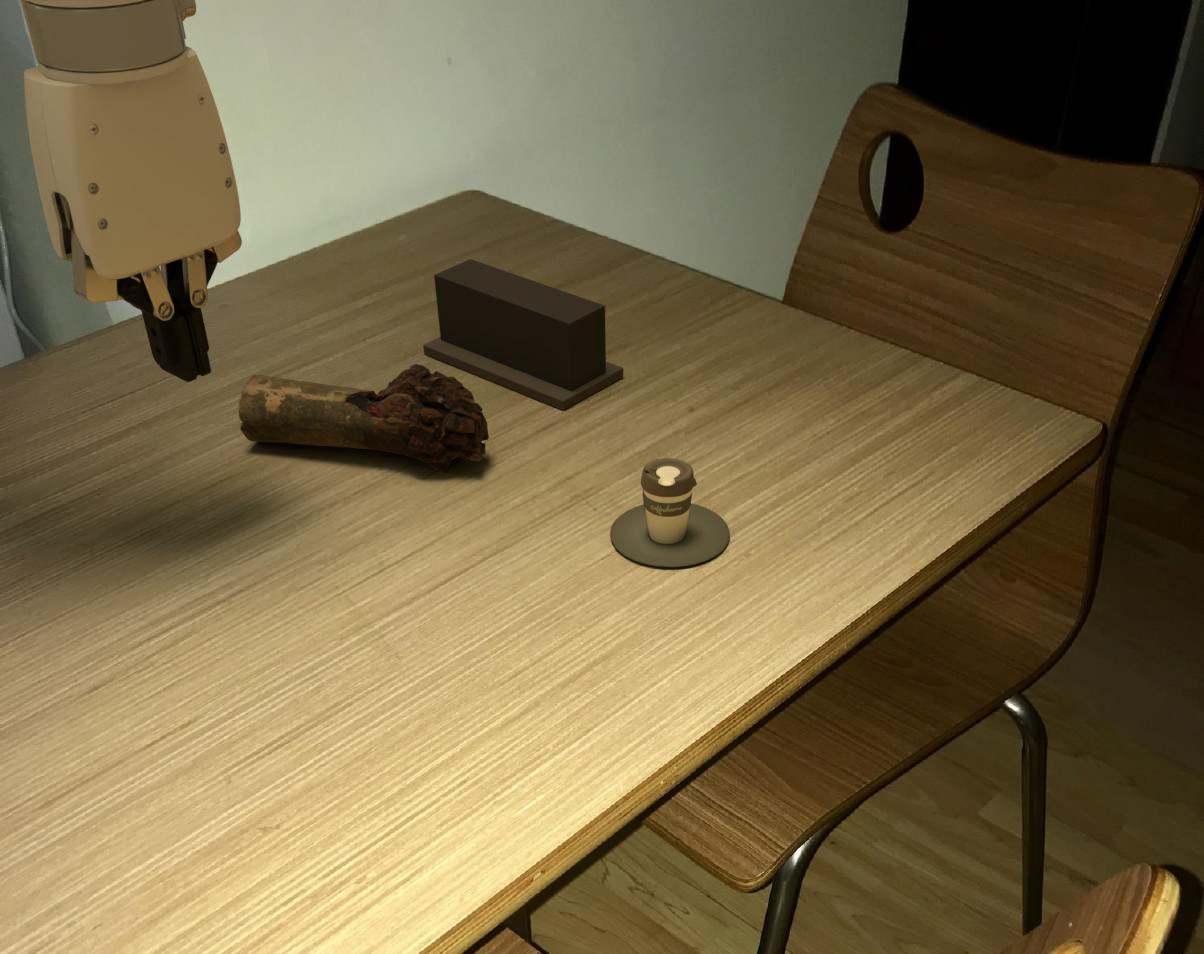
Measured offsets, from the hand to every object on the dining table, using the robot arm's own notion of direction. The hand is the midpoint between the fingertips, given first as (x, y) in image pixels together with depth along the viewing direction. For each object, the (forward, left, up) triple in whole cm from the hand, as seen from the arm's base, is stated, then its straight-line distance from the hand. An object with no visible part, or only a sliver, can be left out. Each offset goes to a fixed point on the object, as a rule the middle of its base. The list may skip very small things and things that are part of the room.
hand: (185, 370), depth 79 cm
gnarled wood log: (+1, +13, -10) cm, 16 cm away
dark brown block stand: (0, +29, -10) cm, 31 cm away
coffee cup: (+24, +17, -10) cm, 31 cm away
